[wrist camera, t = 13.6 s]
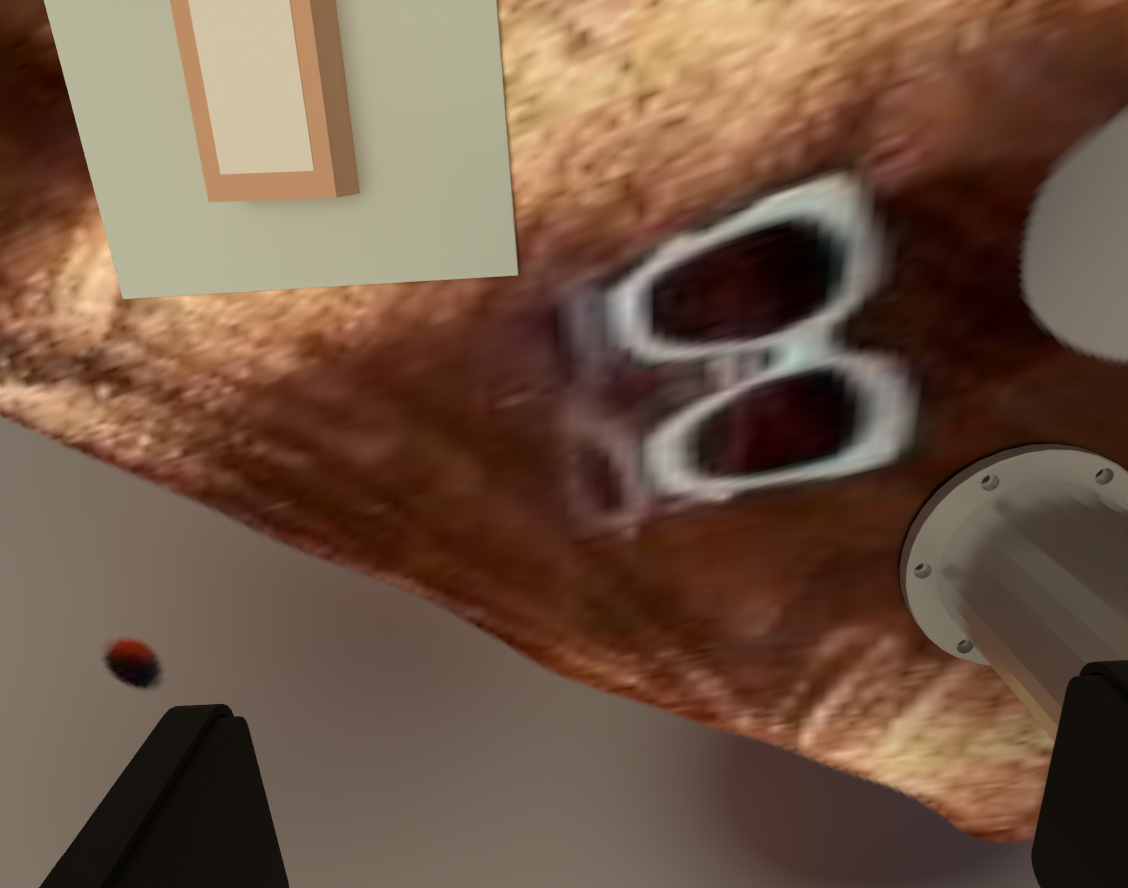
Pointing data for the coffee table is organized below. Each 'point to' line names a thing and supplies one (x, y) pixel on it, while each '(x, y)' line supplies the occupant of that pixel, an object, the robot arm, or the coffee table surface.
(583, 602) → the coffee table surface
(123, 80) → the play mat
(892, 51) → the coffee table surface
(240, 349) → the coffee table surface
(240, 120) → the block
